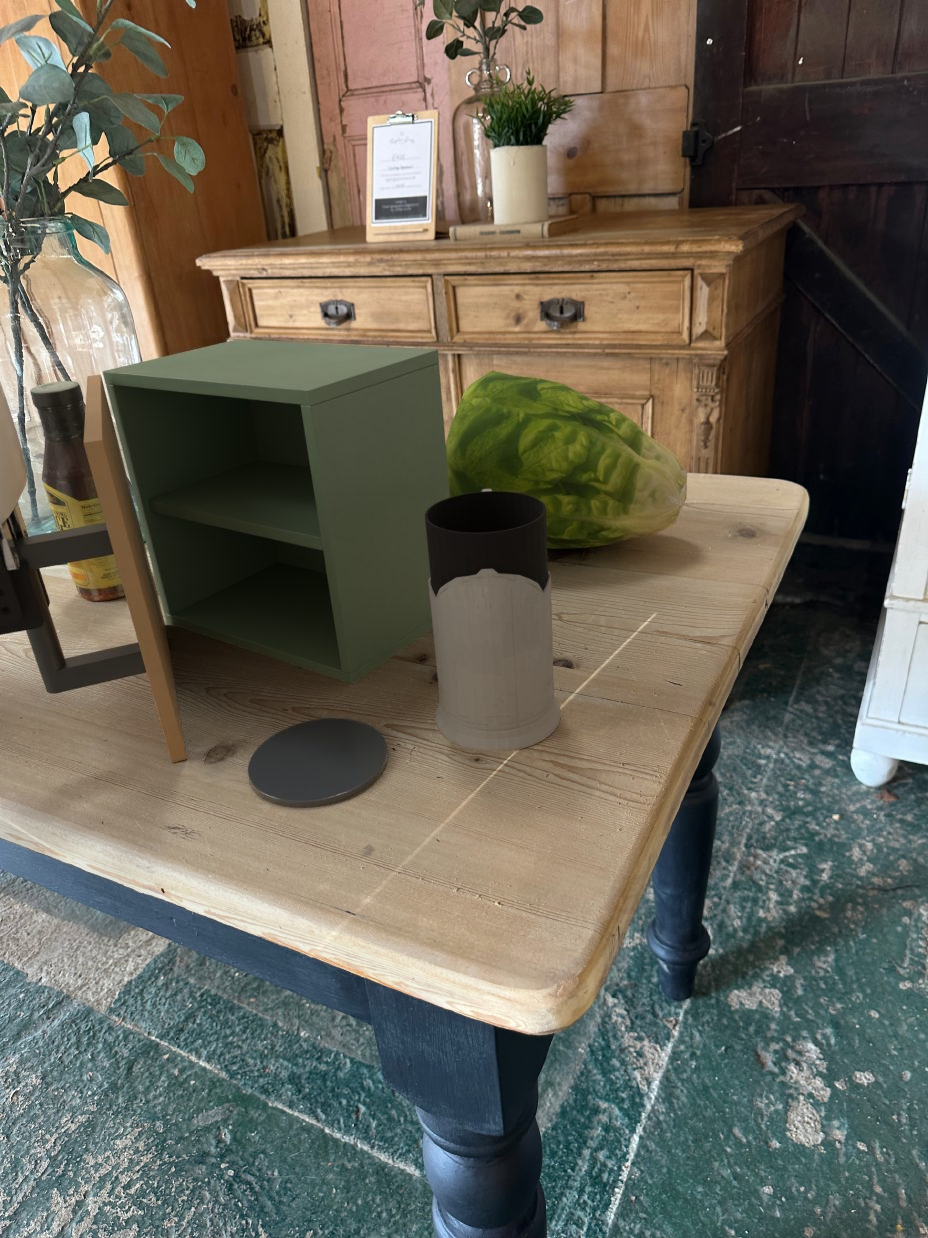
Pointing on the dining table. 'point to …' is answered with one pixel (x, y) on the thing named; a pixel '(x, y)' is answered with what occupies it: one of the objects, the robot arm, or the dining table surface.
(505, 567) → the glass holder
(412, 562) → the cupboard
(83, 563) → the sauce bottle
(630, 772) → the dining table surface
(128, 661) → the cupboard door
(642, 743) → the dining table surface
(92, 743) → the dining table surface
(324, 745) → the coaster
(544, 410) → the lettuce
